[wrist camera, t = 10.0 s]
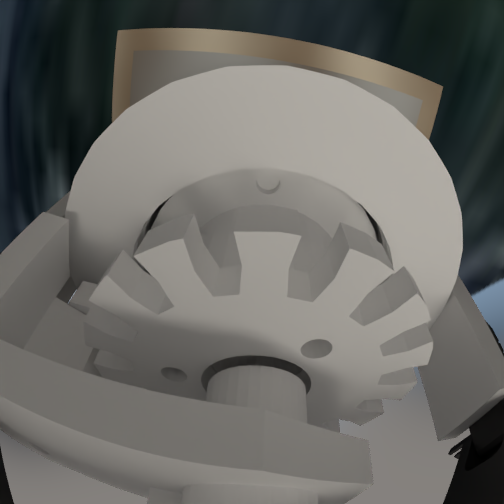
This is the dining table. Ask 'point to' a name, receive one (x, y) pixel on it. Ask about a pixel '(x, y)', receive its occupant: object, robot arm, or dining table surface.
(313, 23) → the dining table surface
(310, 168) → the mechanical part
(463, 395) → the robot arm
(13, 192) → the dining table surface
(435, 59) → the dining table surface
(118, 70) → the stand
